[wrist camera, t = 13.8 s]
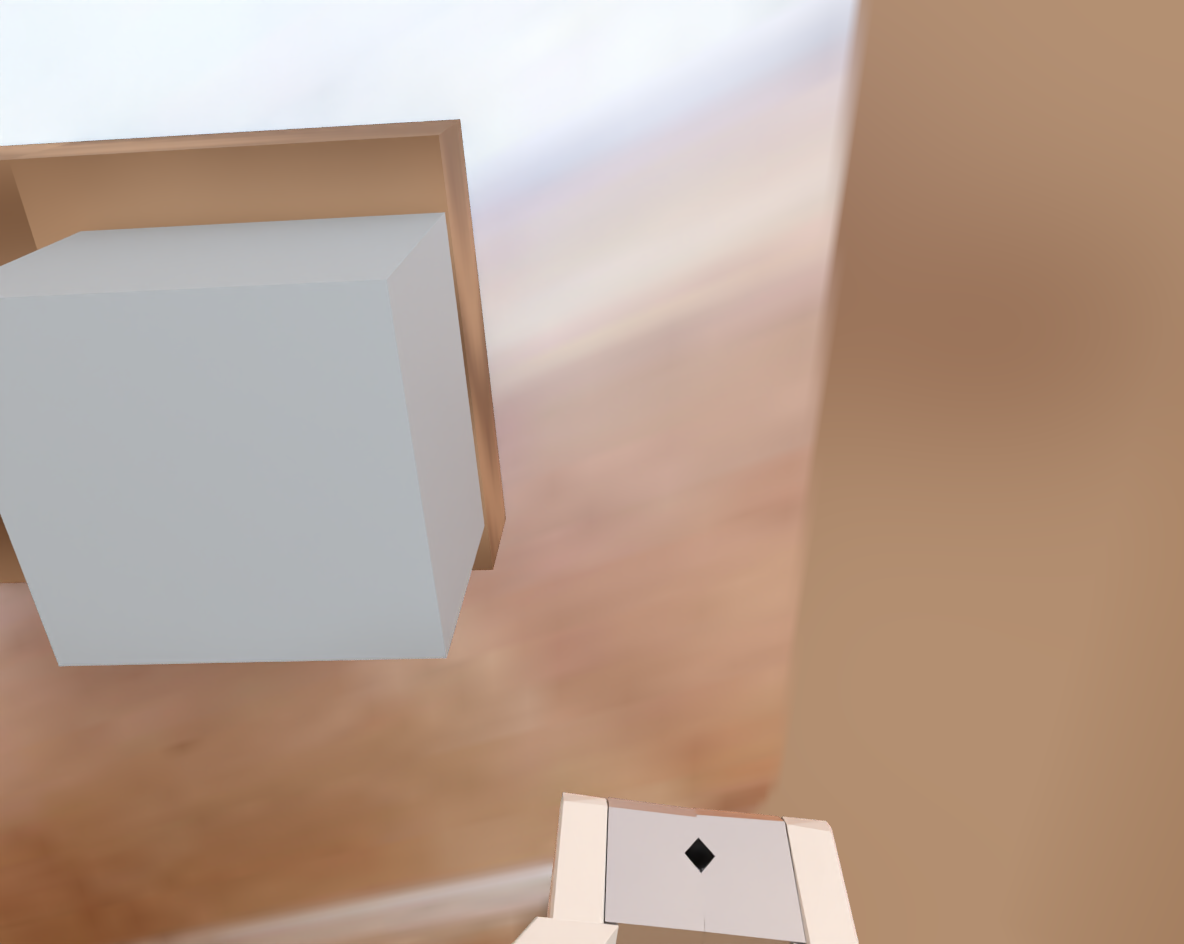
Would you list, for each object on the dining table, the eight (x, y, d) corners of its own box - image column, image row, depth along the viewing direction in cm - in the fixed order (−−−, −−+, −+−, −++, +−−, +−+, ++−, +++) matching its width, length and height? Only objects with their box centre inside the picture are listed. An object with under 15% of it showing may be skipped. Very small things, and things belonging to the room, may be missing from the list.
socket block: (505, 518, 30) (492, 569, 28) (-35, 535, 32) (-98, 585, 29) (460, 119, 25) (438, 134, 22) (-190, 157, 26) (-284, 176, 24)
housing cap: (484, 525, 27) (446, 658, 21) (171, 535, 27) (59, 666, 22) (445, 212, 23) (386, 279, 18) (80, 231, 23) (-82, 301, 18)
